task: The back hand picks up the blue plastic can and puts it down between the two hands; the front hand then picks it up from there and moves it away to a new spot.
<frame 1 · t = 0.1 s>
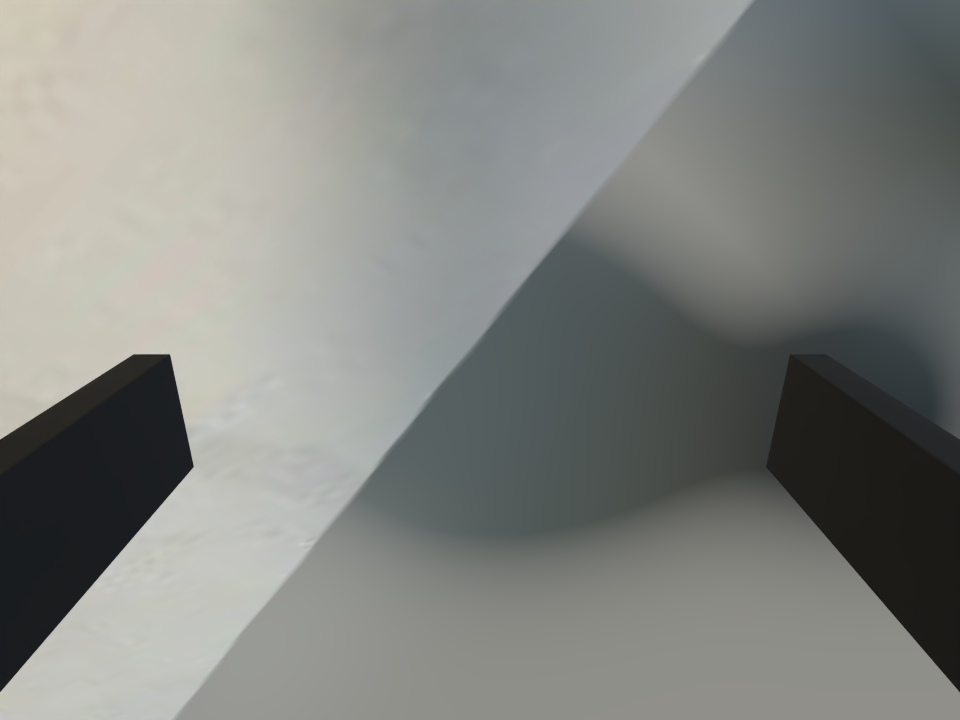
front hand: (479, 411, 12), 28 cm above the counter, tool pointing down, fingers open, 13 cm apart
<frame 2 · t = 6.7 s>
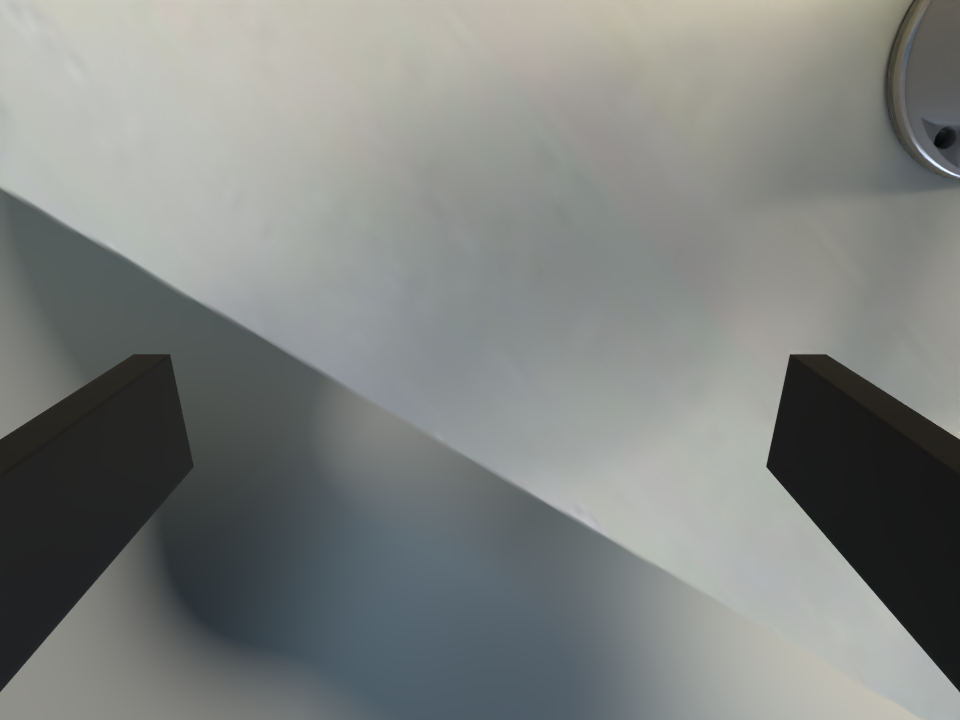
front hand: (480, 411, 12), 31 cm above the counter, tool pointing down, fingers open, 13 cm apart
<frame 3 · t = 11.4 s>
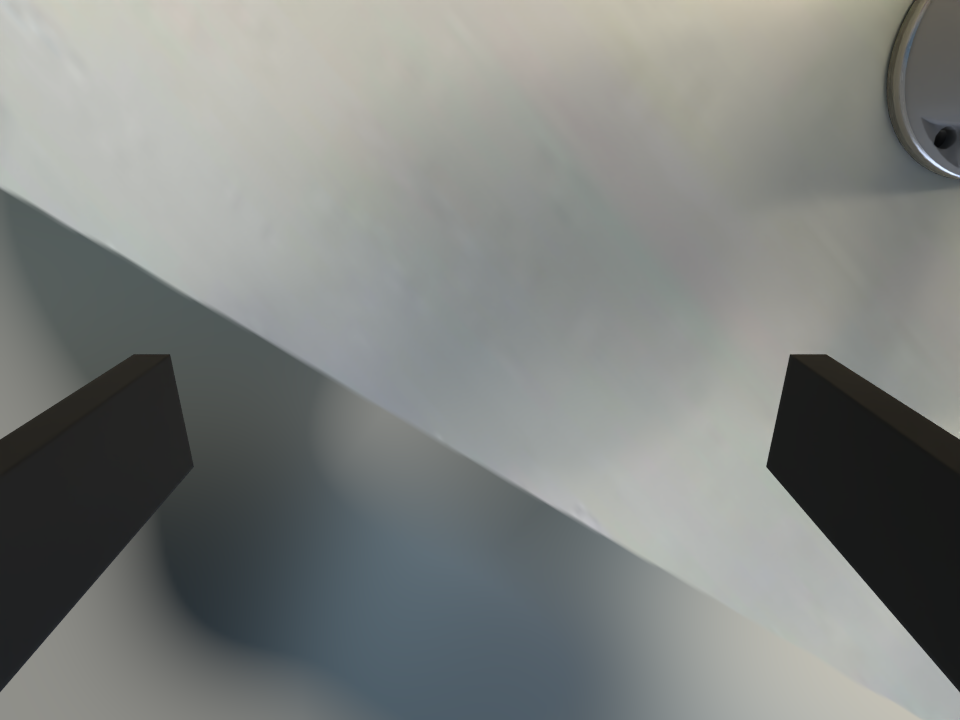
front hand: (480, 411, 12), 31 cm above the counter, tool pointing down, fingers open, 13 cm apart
when the back hand's fingers open (7 cm above the counter, at t = 16.2 s): can drops 2 cm, on the counter.
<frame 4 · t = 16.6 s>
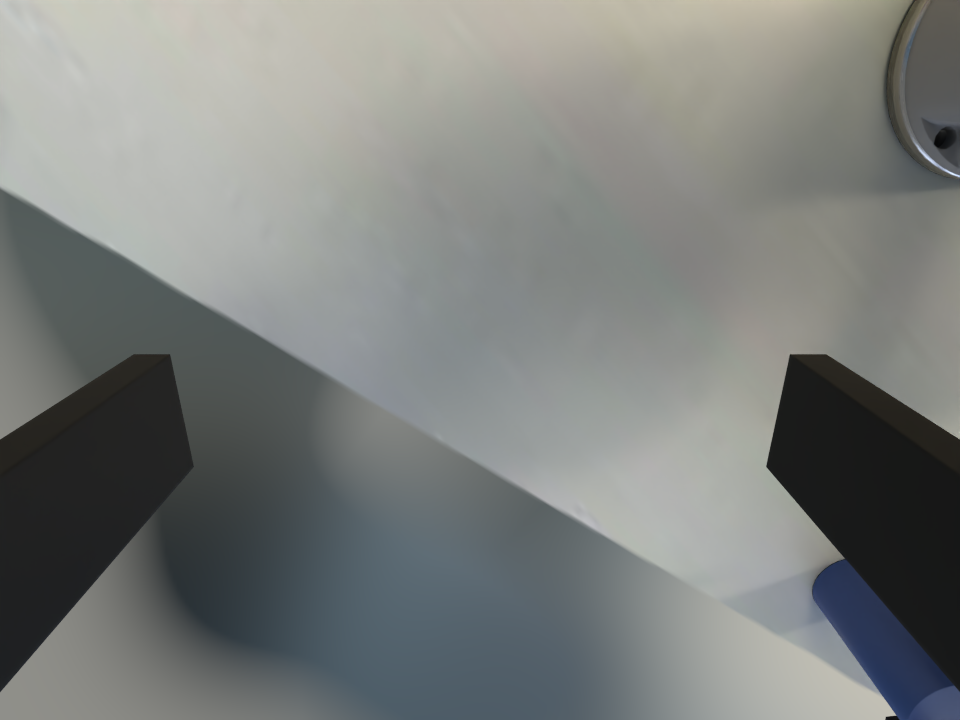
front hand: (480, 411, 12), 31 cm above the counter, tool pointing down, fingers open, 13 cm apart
can: (847, 585, 54), on the counter
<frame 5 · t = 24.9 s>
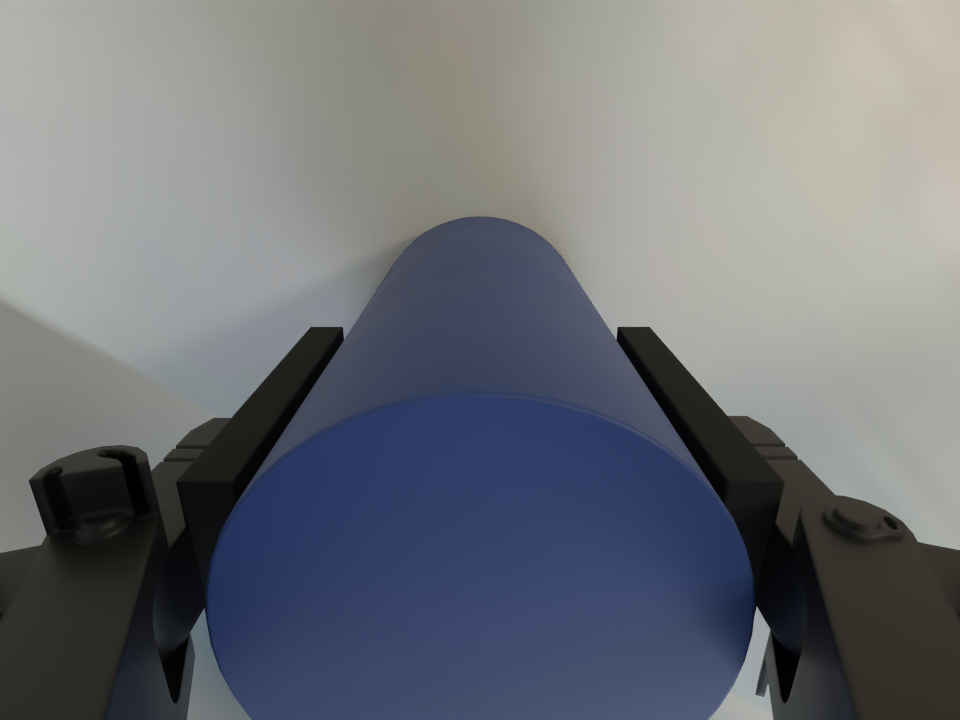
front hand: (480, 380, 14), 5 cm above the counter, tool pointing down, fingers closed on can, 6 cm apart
can: (480, 317, 19), on the counter, touching front hand
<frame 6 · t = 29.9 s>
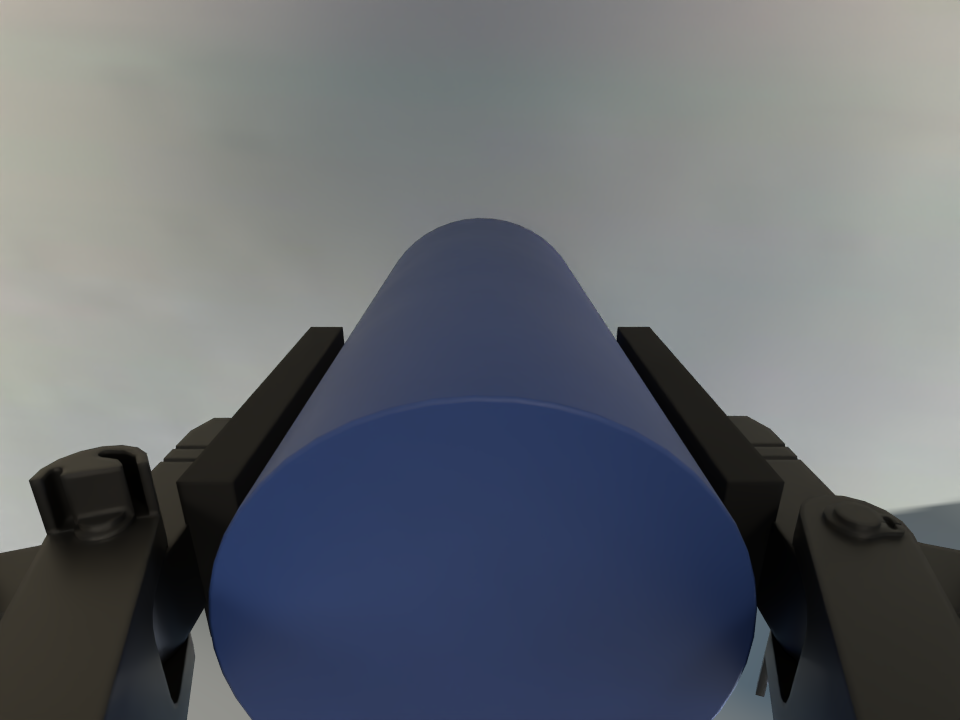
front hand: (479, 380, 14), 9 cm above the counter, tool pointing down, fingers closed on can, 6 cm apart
can: (481, 319, 19), point 4 cm above the counter, touching front hand
when the front hand's fingers open (7 cm above the counter, at t = 35.1 s): can drops 2 cm, on the counter.
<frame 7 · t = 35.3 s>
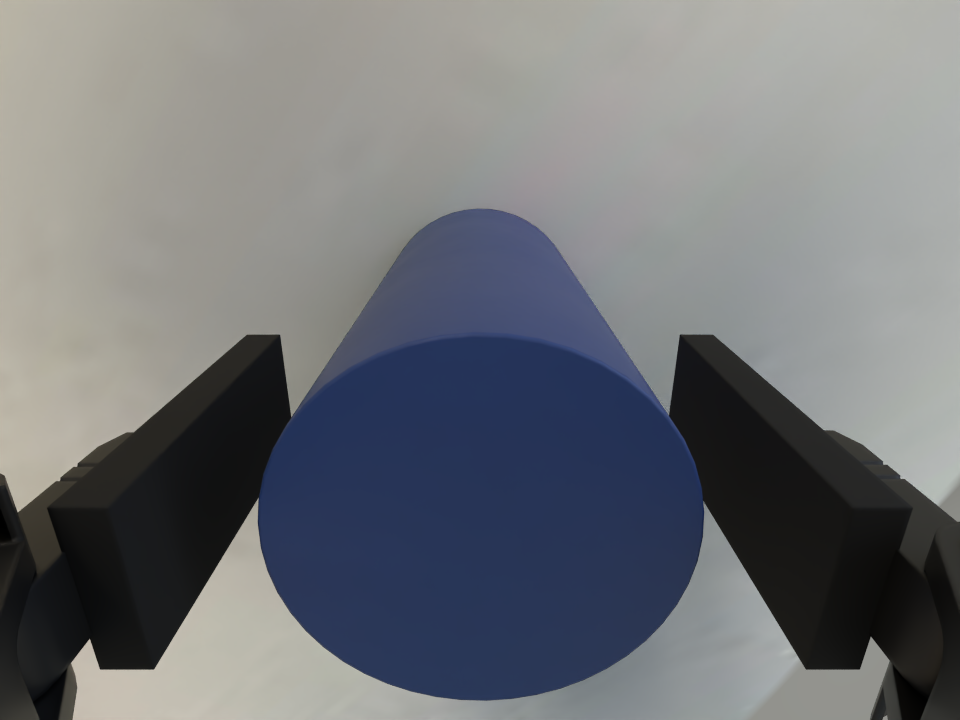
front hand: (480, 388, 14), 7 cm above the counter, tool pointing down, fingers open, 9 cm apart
can: (480, 302, 20), on the counter
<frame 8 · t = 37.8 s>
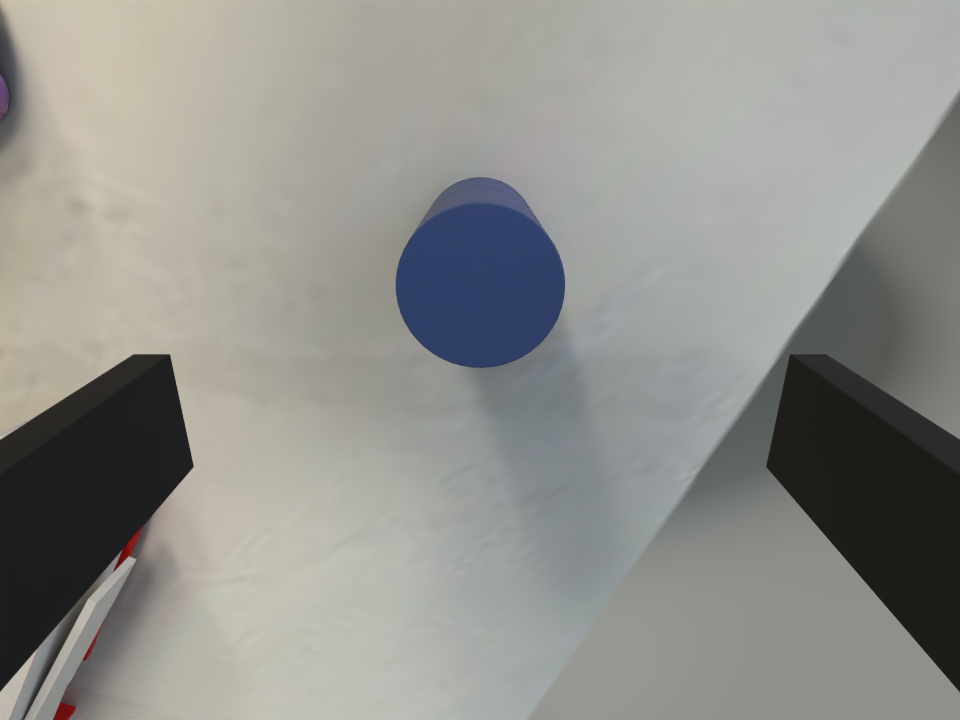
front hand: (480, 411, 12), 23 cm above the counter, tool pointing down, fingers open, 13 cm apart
can: (480, 234, 34), on the counter
toy: (55, 574, 43), on the counter
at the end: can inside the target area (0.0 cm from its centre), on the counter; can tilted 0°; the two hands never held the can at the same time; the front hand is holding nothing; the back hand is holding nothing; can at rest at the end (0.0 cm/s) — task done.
